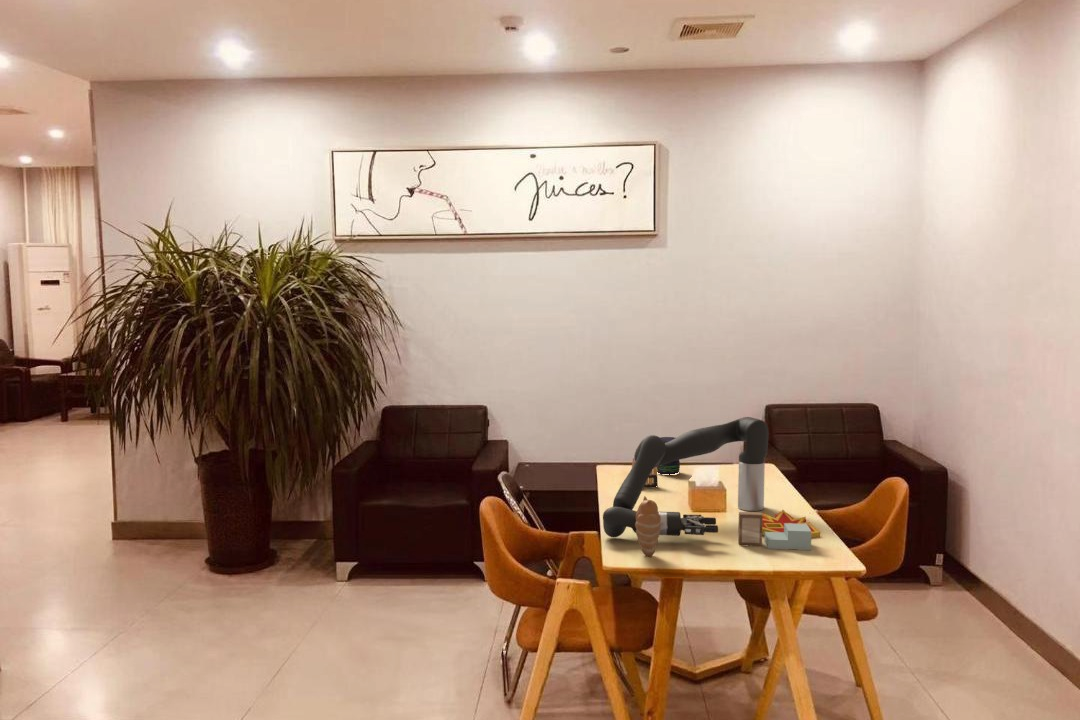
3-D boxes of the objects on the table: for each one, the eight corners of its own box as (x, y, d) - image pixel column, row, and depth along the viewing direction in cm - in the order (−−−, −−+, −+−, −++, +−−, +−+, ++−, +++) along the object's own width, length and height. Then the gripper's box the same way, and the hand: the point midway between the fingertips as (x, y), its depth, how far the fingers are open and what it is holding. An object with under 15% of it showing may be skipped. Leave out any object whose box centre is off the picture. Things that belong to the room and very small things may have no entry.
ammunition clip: (631, 487, 344) (631, 458, 343) (630, 486, 346) (630, 457, 345) (657, 487, 345) (658, 458, 343) (656, 486, 347) (657, 457, 345)
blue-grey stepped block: (764, 540, 275) (764, 522, 275) (806, 542, 273) (806, 523, 273) (767, 548, 267) (768, 530, 267) (810, 550, 266) (811, 531, 265)
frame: (738, 542, 274) (738, 511, 273) (760, 543, 273) (761, 512, 272) (739, 545, 271) (739, 514, 270) (761, 546, 270) (762, 515, 269)
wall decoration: (820, 517, 302) (820, 504, 301) (820, 545, 272) (820, 531, 272) (757, 513, 308) (757, 501, 308) (750, 540, 279) (750, 527, 279)
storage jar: (668, 469, 376) (668, 436, 374) (684, 473, 368) (685, 439, 366) (651, 472, 370) (652, 438, 368) (667, 477, 362) (668, 442, 360)
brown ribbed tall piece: (631, 552, 265) (631, 495, 263) (655, 550, 266) (655, 493, 265) (640, 561, 256) (641, 502, 254) (665, 559, 258) (666, 501, 256)
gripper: (665, 528, 282) (715, 529, 280) (665, 541, 268) (718, 543, 266) (665, 506, 281) (715, 507, 279) (665, 518, 267) (718, 519, 265)
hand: (716, 525), depth 272 cm, fingers open, 8 cm apart
